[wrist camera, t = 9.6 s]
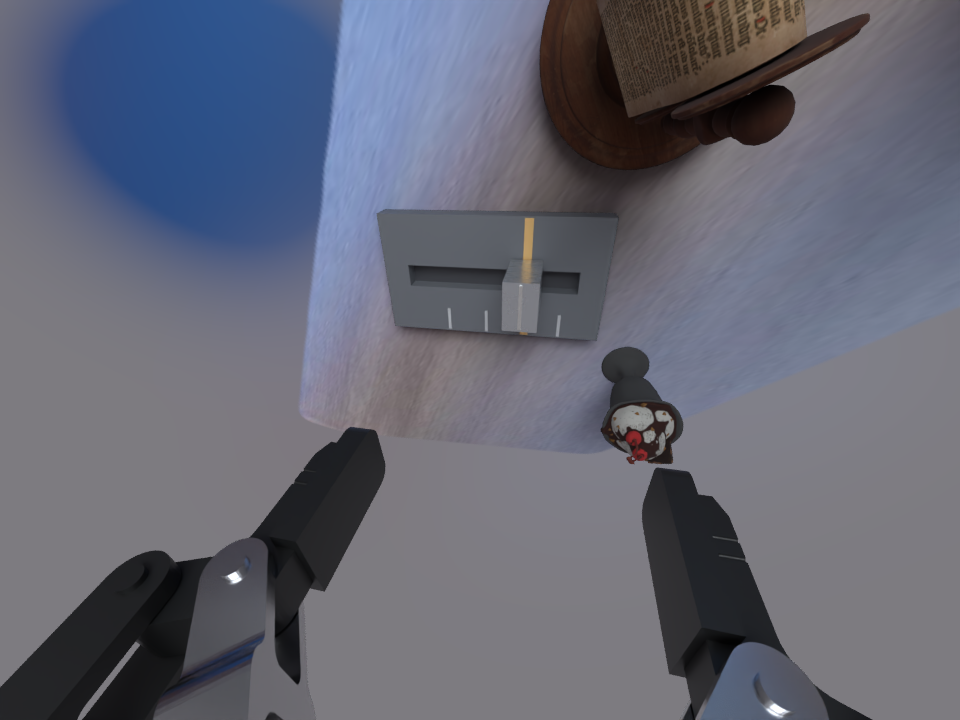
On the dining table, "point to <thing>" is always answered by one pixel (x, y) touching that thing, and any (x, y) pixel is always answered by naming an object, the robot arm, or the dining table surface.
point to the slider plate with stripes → (496, 267)
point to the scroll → (674, 73)
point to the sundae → (638, 410)
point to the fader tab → (521, 295)
